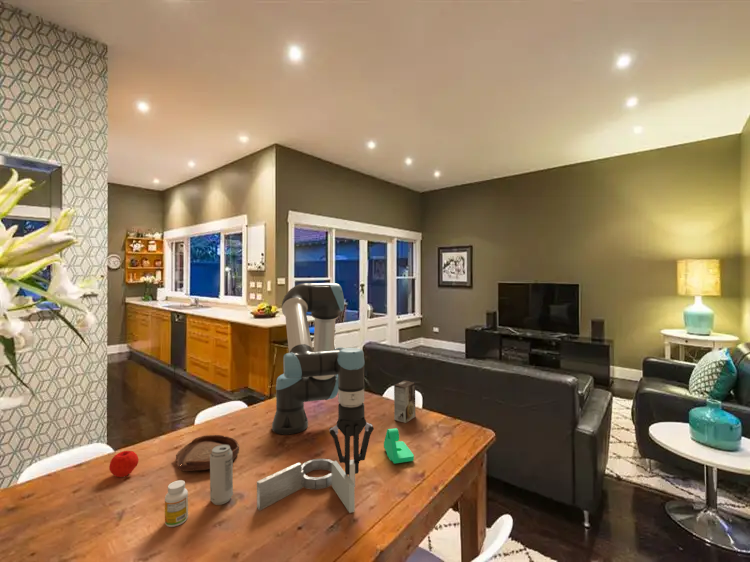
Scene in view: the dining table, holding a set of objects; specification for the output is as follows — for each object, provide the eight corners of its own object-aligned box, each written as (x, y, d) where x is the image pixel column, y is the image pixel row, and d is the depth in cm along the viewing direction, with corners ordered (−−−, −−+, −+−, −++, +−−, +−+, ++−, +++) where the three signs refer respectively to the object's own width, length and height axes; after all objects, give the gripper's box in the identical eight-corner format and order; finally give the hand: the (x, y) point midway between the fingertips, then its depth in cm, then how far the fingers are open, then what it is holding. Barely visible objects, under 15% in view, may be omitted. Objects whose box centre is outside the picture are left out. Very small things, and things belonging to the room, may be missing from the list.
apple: (144, 470, 118) (144, 448, 118) (120, 483, 111) (120, 460, 111) (127, 466, 121) (127, 445, 121) (103, 479, 113) (103, 456, 113)
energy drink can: (216, 493, 105) (216, 443, 105) (236, 493, 105) (235, 443, 105) (206, 506, 99) (205, 453, 99) (227, 506, 99) (226, 453, 99)
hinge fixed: (247, 499, 102) (247, 474, 102) (321, 463, 122) (321, 442, 122) (270, 519, 94) (269, 491, 94) (345, 477, 114) (345, 454, 114)
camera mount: (414, 463, 122) (414, 434, 122) (394, 466, 120) (393, 436, 120) (402, 447, 134) (402, 420, 134) (383, 450, 132) (383, 423, 132)
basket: (166, 459, 126) (166, 445, 126) (222, 440, 141) (222, 428, 141) (190, 483, 111) (190, 468, 111) (250, 459, 125) (250, 445, 125)
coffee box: (404, 413, 167) (403, 379, 167) (415, 416, 163) (415, 382, 163) (393, 420, 159) (393, 384, 159) (405, 423, 156) (405, 387, 156)
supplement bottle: (171, 514, 96) (170, 479, 96) (191, 513, 96) (191, 477, 96) (160, 528, 91) (160, 490, 91) (182, 526, 91) (182, 489, 91)
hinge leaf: (349, 513, 95) (349, 485, 95) (331, 486, 108) (331, 461, 108) (354, 511, 96) (354, 484, 96) (336, 484, 109) (336, 460, 109)
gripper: (329, 409, 96) (330, 495, 96) (376, 405, 99) (376, 489, 99) (327, 400, 103) (328, 480, 103) (370, 396, 106) (371, 474, 106)
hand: (351, 484), depth 101 cm, fingers closed
